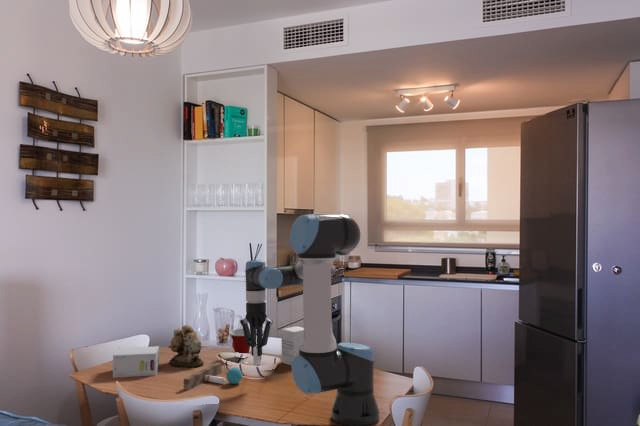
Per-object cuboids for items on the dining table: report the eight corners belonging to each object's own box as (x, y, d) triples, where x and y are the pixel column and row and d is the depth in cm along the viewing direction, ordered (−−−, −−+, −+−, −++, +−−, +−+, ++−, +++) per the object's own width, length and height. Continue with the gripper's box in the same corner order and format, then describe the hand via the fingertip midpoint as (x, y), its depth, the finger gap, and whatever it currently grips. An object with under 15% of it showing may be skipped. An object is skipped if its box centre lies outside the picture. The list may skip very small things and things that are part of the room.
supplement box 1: (112, 378, 217) (112, 355, 218) (117, 369, 230) (117, 347, 230) (156, 375, 221) (156, 352, 221) (159, 367, 234) (159, 345, 234)
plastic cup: (225, 358, 245) (225, 332, 246) (237, 353, 256) (237, 327, 256) (246, 361, 242) (246, 334, 242) (257, 355, 252) (257, 329, 252)
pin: (221, 382, 207) (203, 379, 211) (223, 385, 209) (205, 382, 212) (223, 376, 209) (205, 373, 212) (226, 379, 210) (208, 376, 214)
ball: (220, 376, 208) (230, 388, 206) (230, 365, 207) (240, 377, 205) (228, 374, 213) (238, 385, 211) (238, 363, 212) (247, 374, 210)
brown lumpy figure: (160, 364, 237) (160, 325, 237) (179, 358, 247) (179, 321, 248) (191, 370, 228) (191, 329, 228) (210, 363, 238) (210, 324, 239)
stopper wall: (188, 390, 201) (188, 379, 201) (183, 389, 202) (183, 379, 202) (221, 372, 224) (221, 363, 224) (217, 372, 224) (217, 362, 224)
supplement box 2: (296, 359, 245) (296, 325, 245) (309, 362, 238) (309, 328, 238) (280, 362, 239) (280, 328, 239) (294, 366, 232) (293, 331, 232)
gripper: (275, 300, 206) (276, 363, 206) (245, 299, 211) (246, 361, 210) (267, 303, 199) (268, 368, 199) (235, 302, 204) (236, 365, 203)
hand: (256, 364), depth 204 cm, fingers closed
